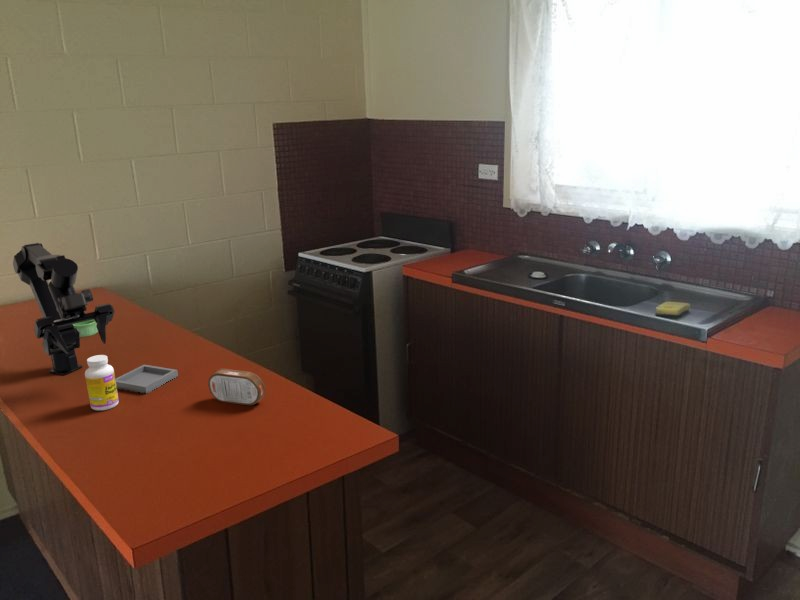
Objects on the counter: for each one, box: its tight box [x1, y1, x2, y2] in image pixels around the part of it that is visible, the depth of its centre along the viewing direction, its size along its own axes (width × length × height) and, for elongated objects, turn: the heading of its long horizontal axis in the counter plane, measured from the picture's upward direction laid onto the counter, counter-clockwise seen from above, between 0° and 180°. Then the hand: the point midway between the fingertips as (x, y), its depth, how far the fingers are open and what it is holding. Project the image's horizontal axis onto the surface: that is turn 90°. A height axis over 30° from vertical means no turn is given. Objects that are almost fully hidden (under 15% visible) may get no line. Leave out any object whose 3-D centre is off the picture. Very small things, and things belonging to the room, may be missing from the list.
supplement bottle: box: [84, 354, 120, 412], centre depth 169 cm, size 7×7×13 cm
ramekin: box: [73, 319, 99, 338], centre depth 226 cm, size 9×9×4 cm
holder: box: [115, 364, 179, 395], centre depth 184 cm, size 12×12×2 cm
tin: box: [207, 368, 266, 406], centre depth 169 cm, size 15×3×8 cm, turn 71°
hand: (86, 348), depth 173 cm, fingers open, 9 cm apart
